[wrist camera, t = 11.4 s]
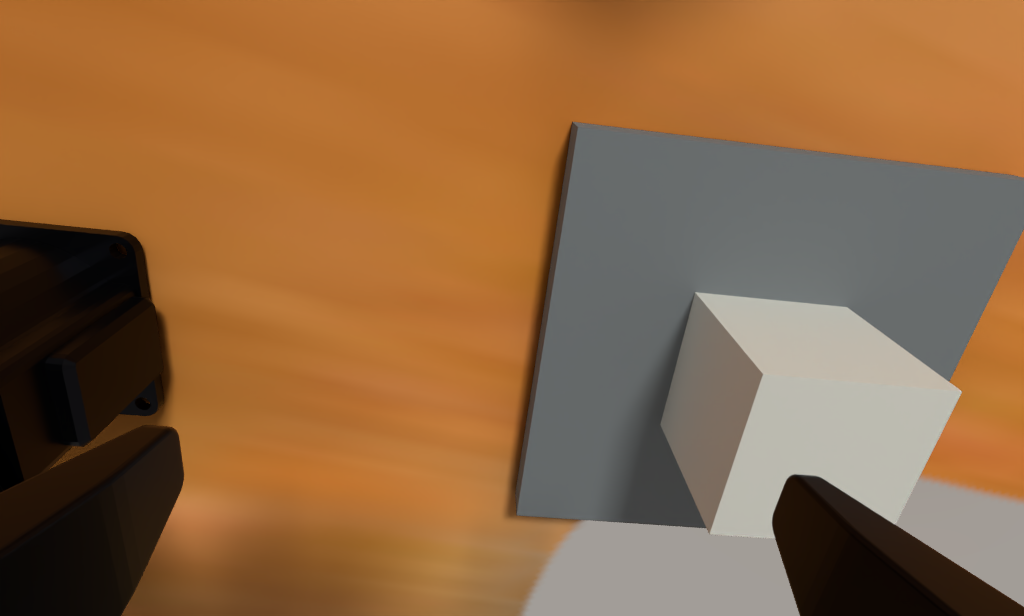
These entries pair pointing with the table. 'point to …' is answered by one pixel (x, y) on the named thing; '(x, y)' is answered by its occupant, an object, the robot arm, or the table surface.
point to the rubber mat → (730, 288)
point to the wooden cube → (796, 409)
